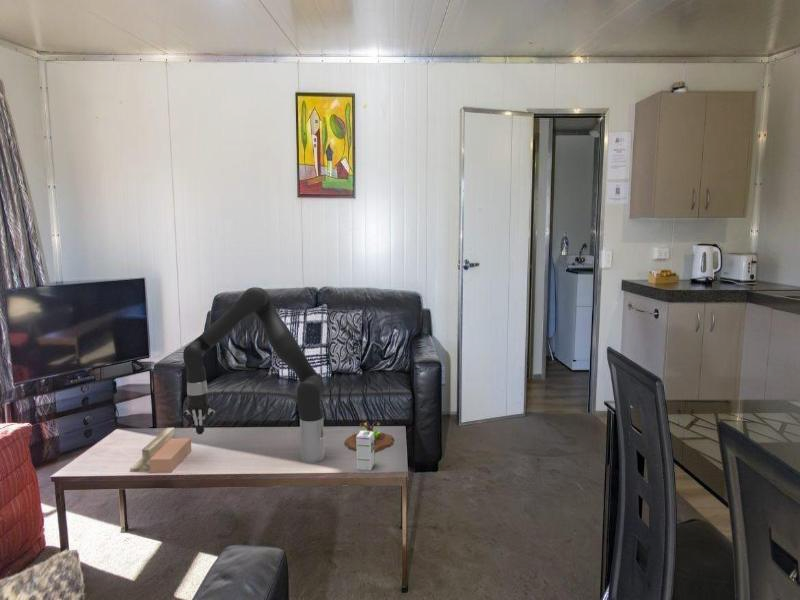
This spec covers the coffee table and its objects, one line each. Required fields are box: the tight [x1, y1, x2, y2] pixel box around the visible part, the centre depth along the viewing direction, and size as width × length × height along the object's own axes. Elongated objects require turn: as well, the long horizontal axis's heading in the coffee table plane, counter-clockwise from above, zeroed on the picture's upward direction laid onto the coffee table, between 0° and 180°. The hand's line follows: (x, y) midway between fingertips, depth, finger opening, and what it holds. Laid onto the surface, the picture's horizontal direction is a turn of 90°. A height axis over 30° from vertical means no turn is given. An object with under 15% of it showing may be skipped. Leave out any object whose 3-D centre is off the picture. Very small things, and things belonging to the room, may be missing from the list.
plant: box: [343, 421, 395, 453], centre depth 220 cm, size 20×20×11 cm
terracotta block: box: [149, 437, 192, 474], centre depth 204 cm, size 8×20×6 cm, turn 1°
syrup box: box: [356, 430, 376, 471], centre depth 197 cm, size 6×6×14 cm
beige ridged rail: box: [129, 427, 176, 473], centre depth 205 cm, size 8×22×9 cm, turn 1°
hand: (200, 433), depth 205 cm, fingers closed
